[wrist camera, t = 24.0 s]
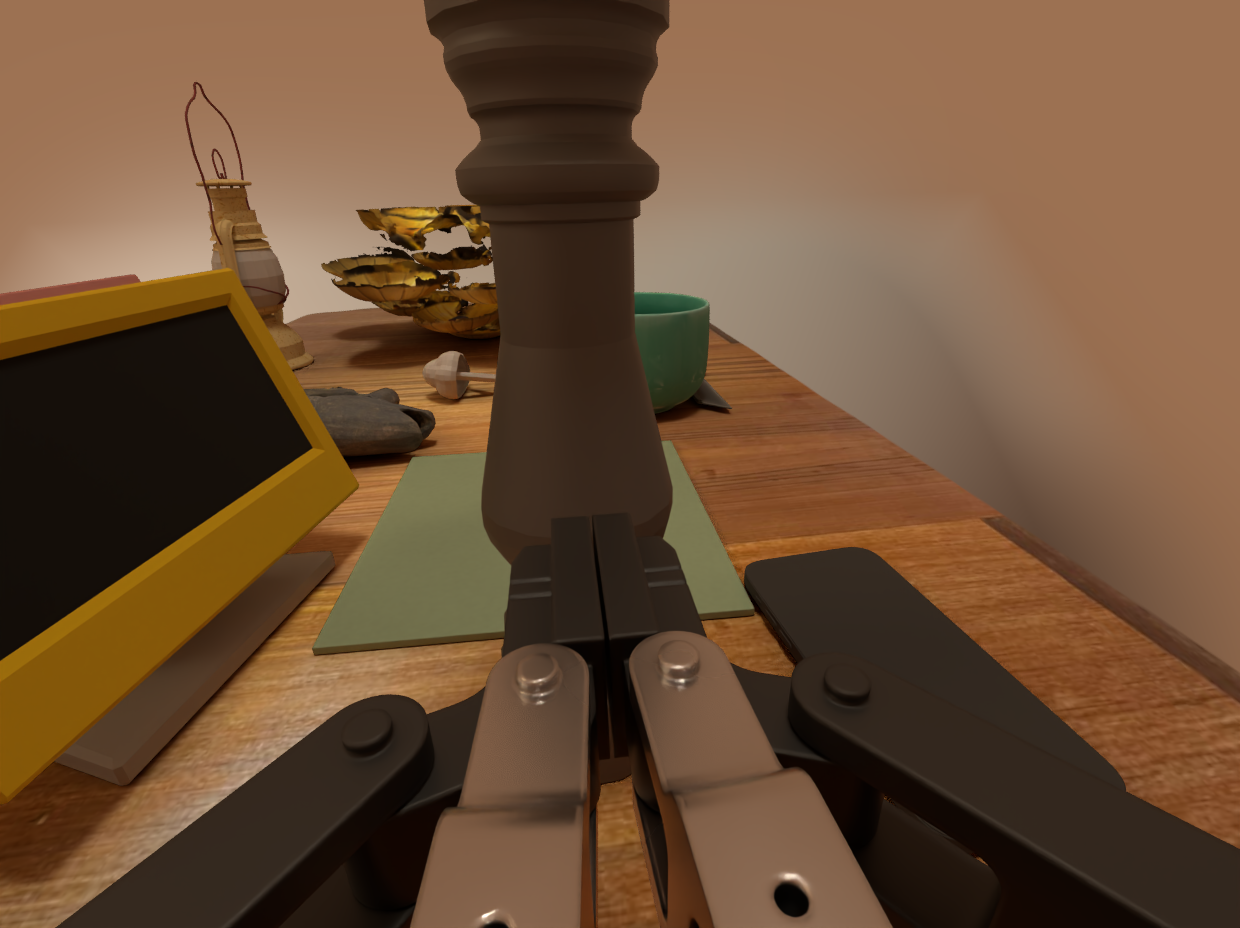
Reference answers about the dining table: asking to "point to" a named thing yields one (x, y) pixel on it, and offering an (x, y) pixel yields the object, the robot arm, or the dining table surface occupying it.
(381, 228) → the mushroom
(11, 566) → the yellow framed monitor
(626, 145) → the candle holder
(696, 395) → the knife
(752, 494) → the dining table surface
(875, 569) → the phone
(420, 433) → the ceramic vessel
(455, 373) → the mushroom
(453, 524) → the mat
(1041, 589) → the dining table surface
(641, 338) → the mug
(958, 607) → the dining table surface
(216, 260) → the lantern
